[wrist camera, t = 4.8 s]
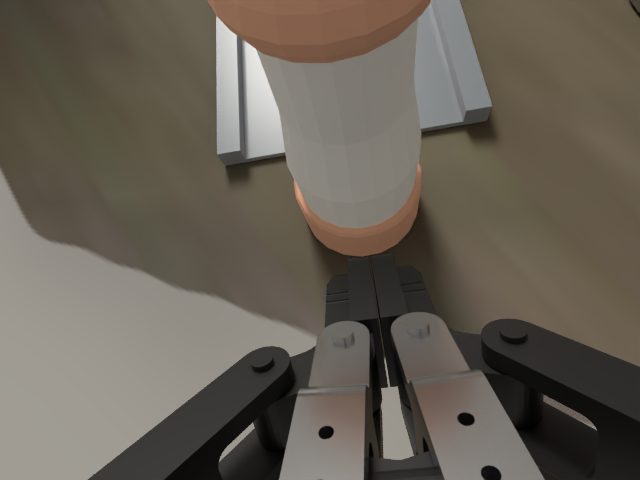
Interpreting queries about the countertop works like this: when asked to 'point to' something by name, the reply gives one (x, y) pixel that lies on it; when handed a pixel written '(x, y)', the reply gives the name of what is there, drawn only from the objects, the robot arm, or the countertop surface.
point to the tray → (429, 80)
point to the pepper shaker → (343, 110)
